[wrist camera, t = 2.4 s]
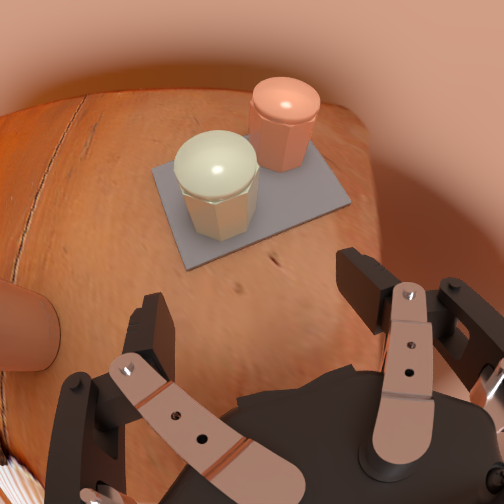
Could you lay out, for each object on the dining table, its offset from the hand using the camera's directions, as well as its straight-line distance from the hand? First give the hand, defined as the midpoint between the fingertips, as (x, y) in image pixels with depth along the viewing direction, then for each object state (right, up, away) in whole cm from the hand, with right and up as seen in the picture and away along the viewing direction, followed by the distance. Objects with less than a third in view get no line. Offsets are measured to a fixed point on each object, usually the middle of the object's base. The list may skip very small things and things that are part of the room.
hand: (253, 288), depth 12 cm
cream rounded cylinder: (-3, +6, +17) cm, 18 cm away
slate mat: (0, +9, +18) cm, 20 cm away
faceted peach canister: (+3, +14, +19) cm, 24 cm away
